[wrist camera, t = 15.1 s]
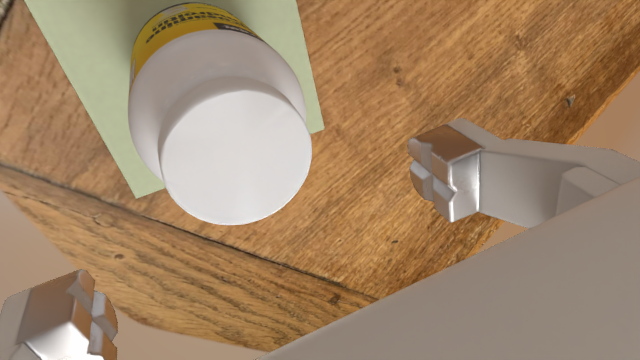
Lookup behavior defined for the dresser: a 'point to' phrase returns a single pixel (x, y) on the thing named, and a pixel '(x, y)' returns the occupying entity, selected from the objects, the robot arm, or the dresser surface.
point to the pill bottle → (217, 115)
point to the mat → (115, 60)
